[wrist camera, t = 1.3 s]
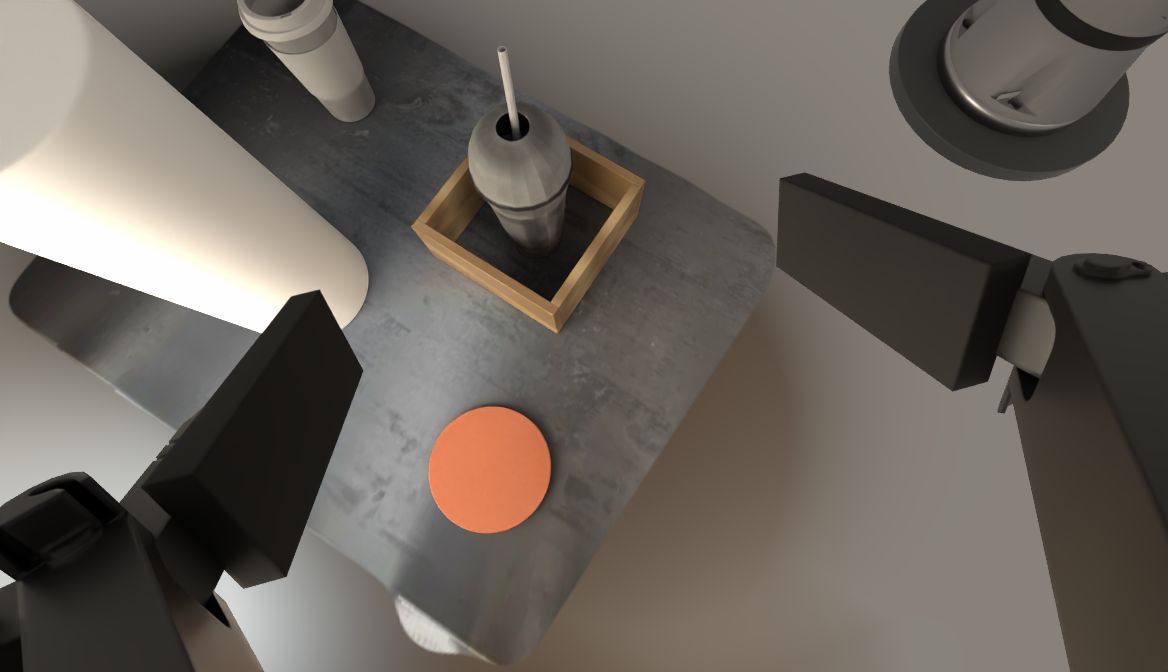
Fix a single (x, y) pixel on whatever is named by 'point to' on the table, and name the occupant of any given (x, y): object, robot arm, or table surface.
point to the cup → (313, 51)
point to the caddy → (440, 234)
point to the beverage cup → (522, 169)
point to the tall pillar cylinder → (149, 181)
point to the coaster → (490, 469)
